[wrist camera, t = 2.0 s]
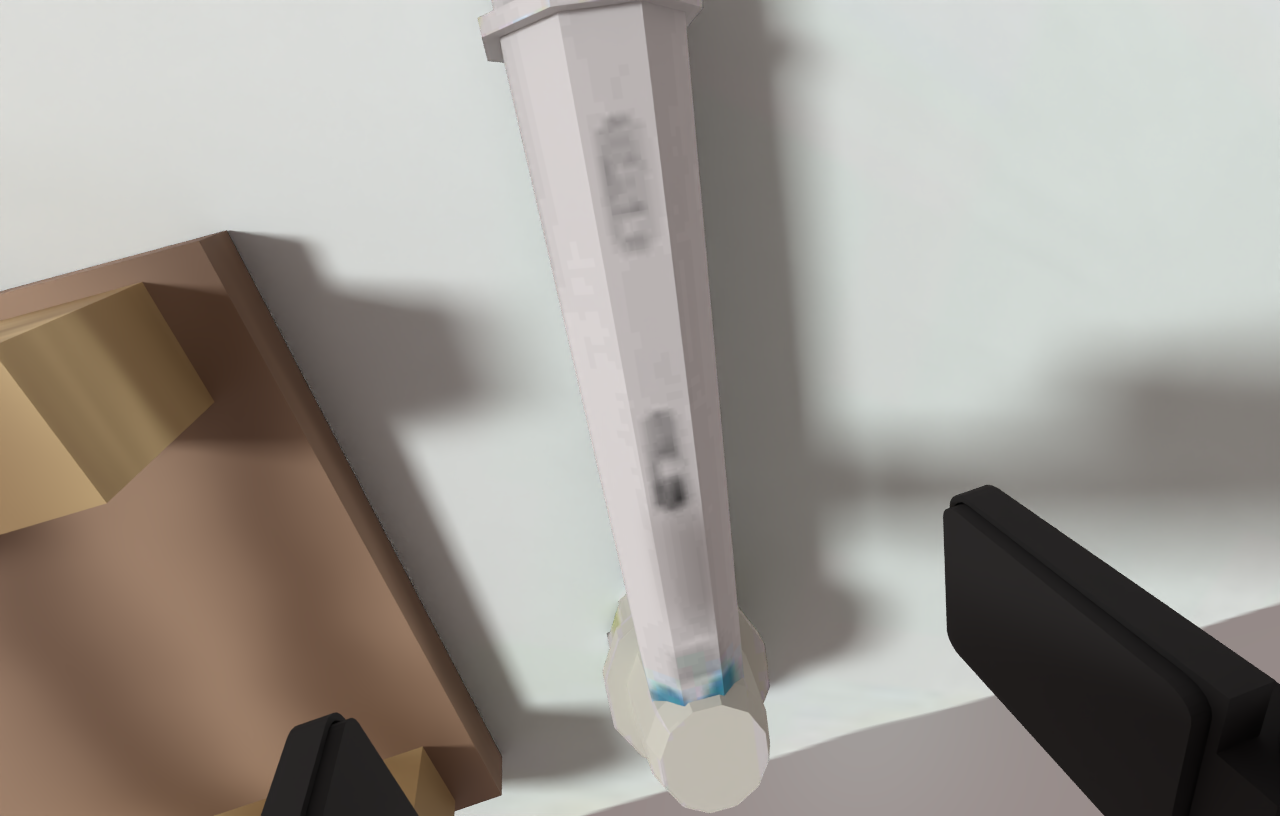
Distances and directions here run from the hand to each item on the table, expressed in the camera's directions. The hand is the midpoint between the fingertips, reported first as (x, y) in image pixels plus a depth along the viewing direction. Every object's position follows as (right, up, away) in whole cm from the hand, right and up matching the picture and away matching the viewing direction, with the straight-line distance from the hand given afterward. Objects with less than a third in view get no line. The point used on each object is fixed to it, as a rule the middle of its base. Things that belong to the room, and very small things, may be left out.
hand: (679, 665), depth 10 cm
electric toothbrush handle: (-1, +5, +9) cm, 11 cm away
